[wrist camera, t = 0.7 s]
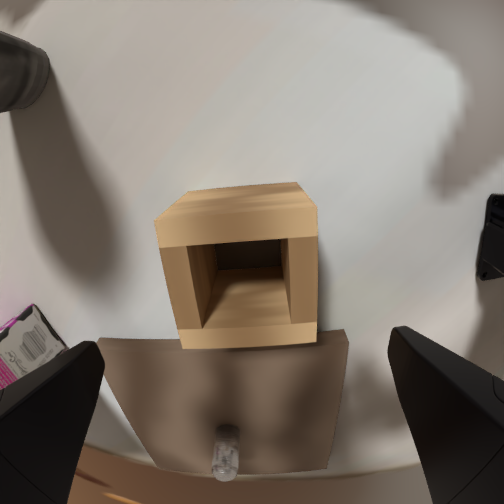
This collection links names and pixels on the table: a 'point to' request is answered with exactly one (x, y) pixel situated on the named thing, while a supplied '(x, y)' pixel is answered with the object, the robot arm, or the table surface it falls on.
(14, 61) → the beverage cup
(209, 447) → the pin board
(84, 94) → the table surface
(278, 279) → the oak collar
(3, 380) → the candy bar box
